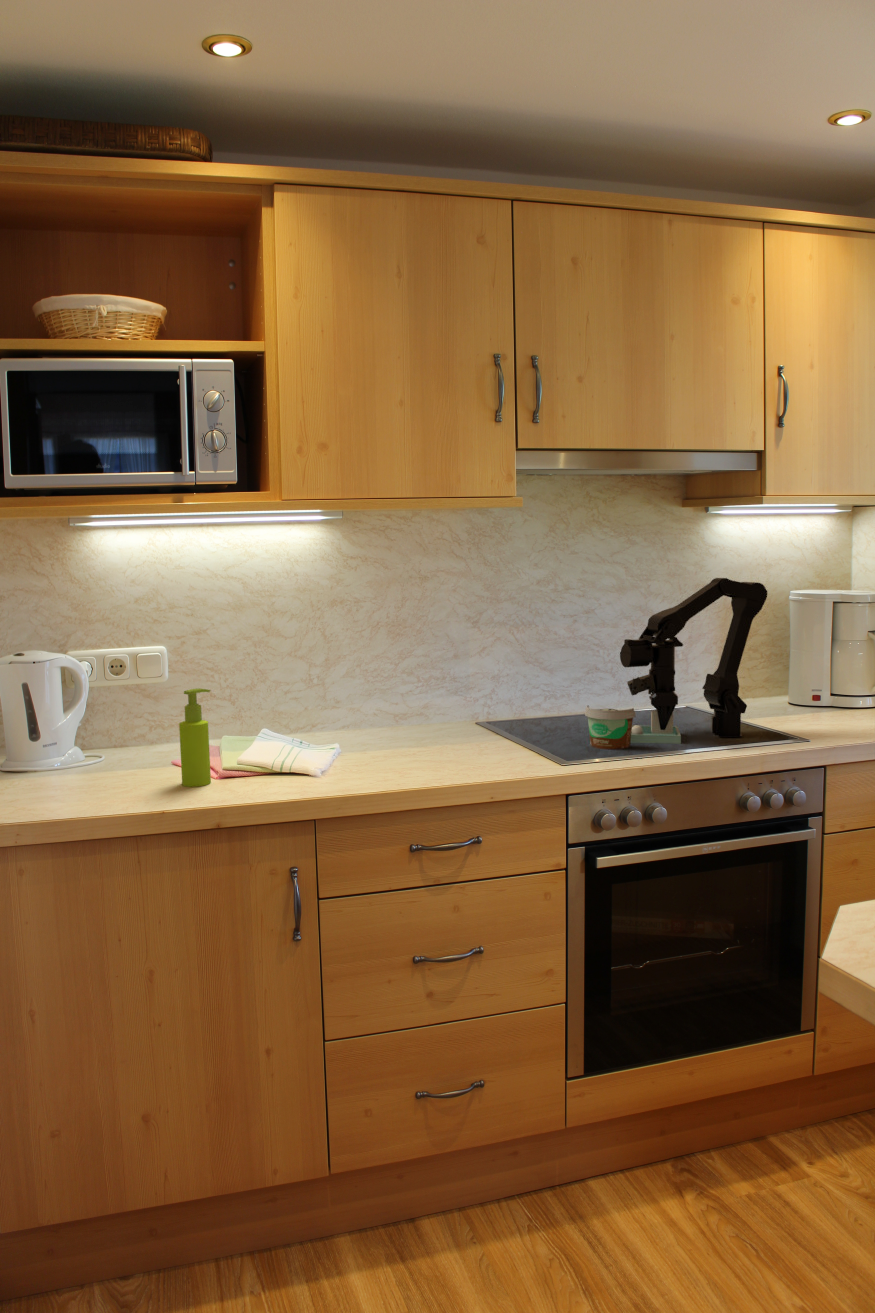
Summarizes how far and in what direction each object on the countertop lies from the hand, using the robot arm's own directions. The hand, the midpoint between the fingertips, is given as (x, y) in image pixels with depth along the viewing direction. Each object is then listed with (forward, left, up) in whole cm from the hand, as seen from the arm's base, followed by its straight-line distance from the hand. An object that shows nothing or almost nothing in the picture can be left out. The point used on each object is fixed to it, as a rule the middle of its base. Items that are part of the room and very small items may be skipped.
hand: (662, 727), depth 231 cm
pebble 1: (+6, -2, -3) cm, 7 cm away
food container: (+14, +12, -4) cm, 18 cm away
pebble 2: (+6, +2, -3) cm, 7 cm away
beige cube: (0, 0, -1) cm, 1 cm away
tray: (+3, 0, -3) cm, 4 cm away
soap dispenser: (+99, +53, -3) cm, 112 cm away
